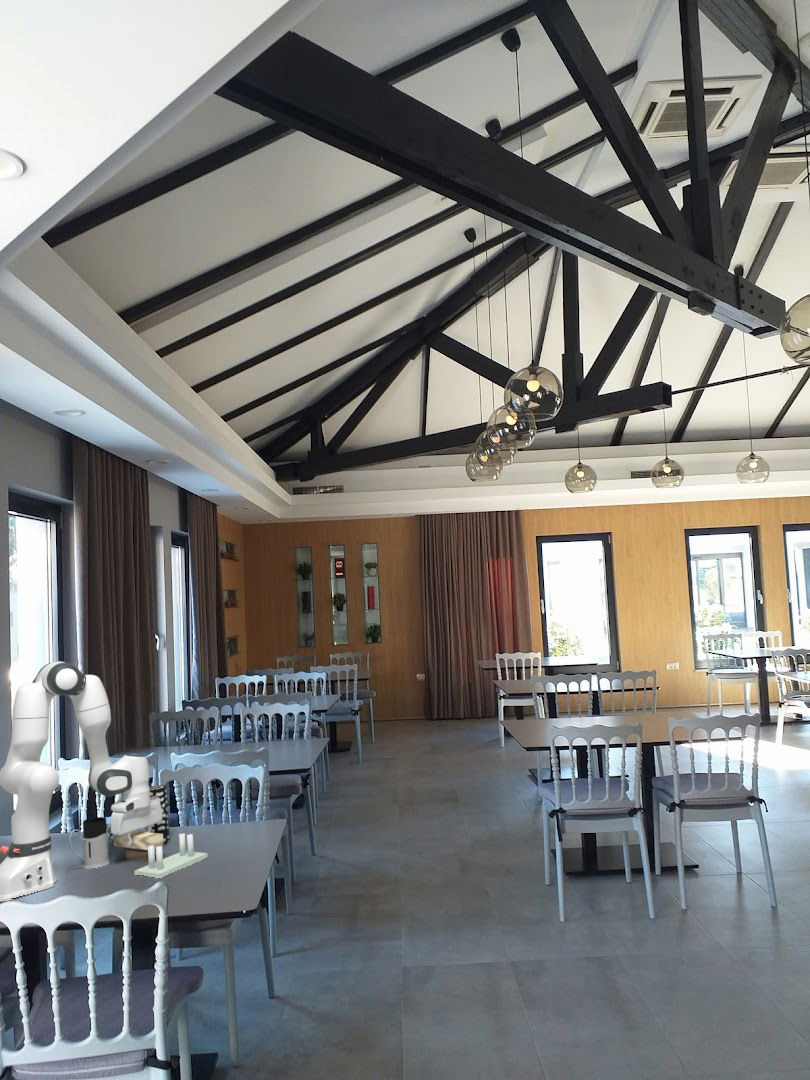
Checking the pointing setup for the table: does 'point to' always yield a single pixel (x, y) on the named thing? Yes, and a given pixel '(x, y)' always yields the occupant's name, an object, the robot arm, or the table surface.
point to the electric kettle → (94, 843)
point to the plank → (140, 840)
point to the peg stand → (171, 859)
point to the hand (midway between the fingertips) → (138, 842)
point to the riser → (137, 854)
